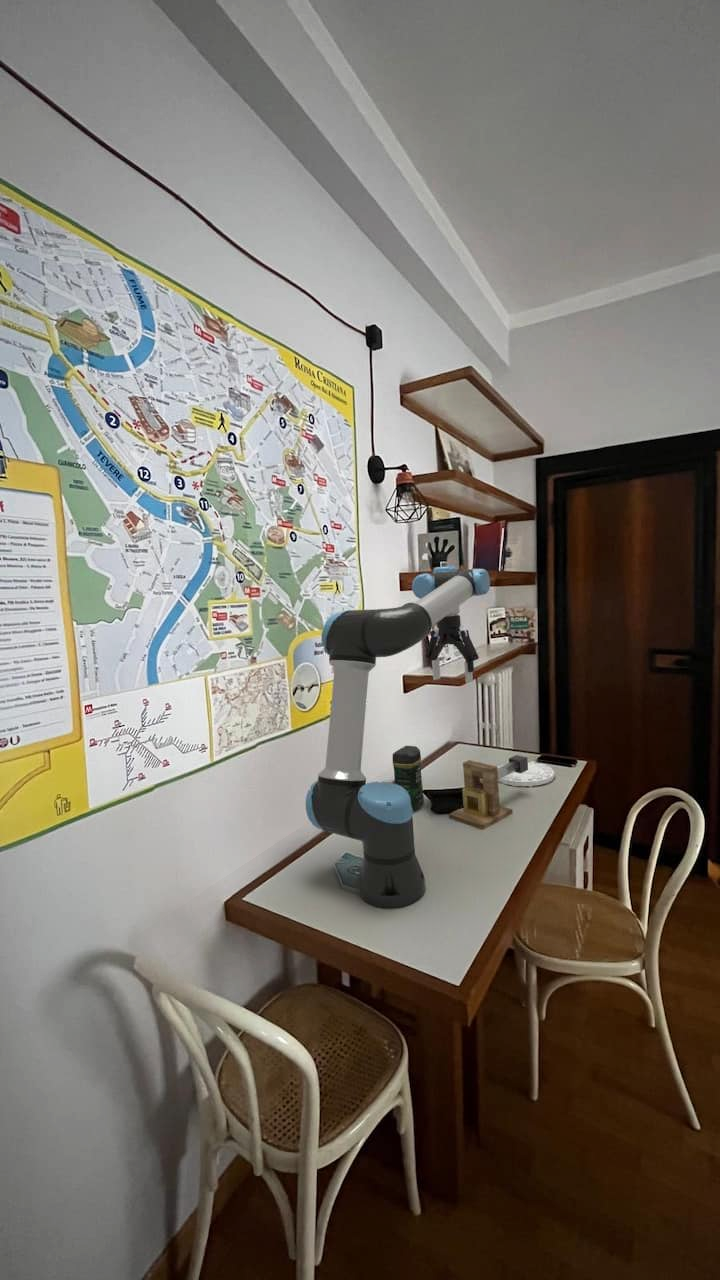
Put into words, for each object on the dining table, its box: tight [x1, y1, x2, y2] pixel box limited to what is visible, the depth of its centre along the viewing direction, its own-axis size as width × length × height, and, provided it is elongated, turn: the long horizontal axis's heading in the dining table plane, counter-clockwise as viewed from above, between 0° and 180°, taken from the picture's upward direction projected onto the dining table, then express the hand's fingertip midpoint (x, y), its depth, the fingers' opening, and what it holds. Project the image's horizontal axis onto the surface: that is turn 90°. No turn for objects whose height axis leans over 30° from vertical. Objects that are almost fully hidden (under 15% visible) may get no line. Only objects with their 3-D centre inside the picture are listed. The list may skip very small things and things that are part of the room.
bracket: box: [448, 759, 513, 830], centre depth 156 cm, size 14×12×15 cm
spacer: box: [461, 787, 489, 819], centre depth 155 cm, size 2×7×7 cm, turn 40°
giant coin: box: [497, 761, 556, 788], centre depth 185 cm, size 20×20×3 cm
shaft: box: [477, 754, 529, 787], centre depth 163 cm, size 21×4×4 cm, turn 130°
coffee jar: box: [392, 745, 425, 812], centre depth 167 cm, size 10×8×19 cm
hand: (452, 680), depth 174 cm, fingers open, 13 cm apart
